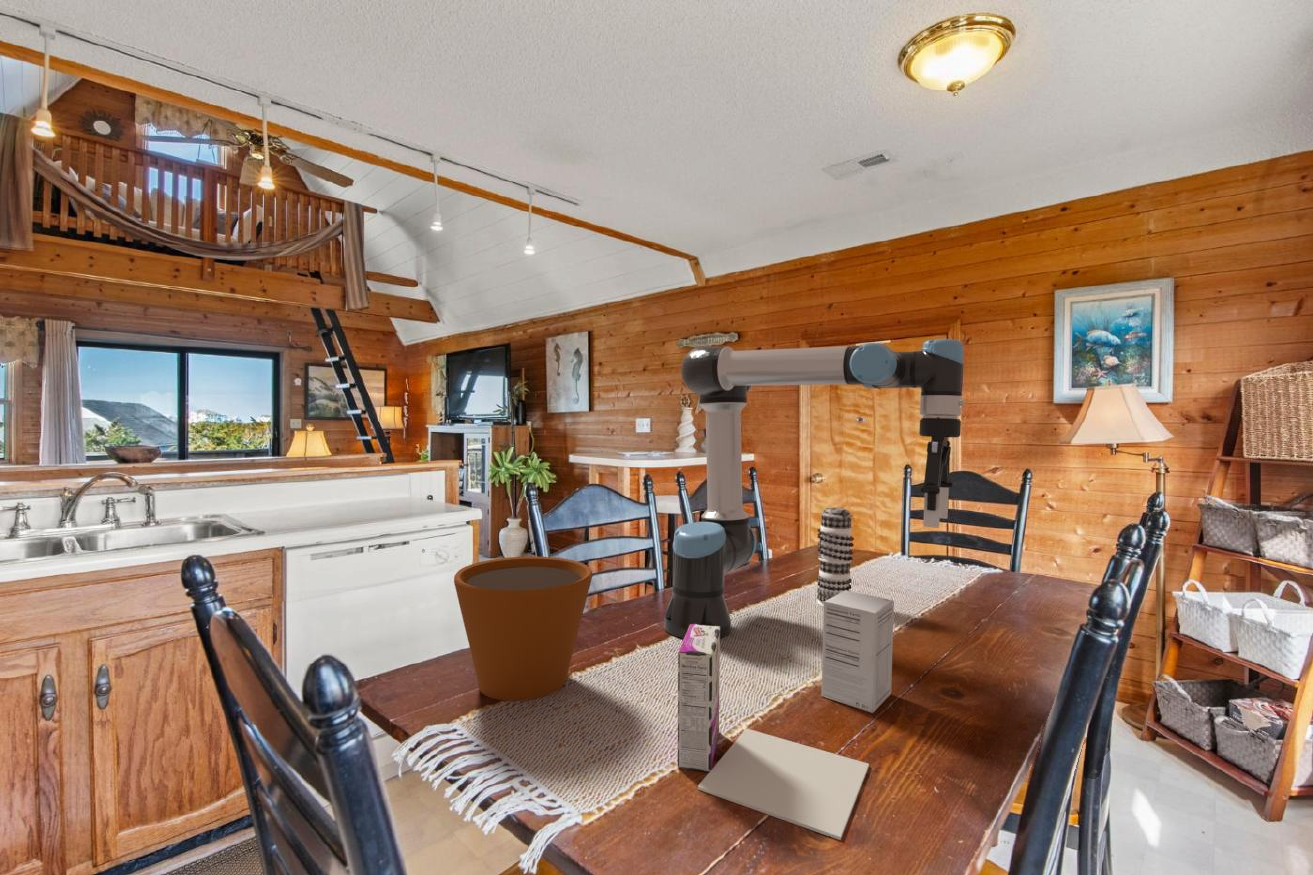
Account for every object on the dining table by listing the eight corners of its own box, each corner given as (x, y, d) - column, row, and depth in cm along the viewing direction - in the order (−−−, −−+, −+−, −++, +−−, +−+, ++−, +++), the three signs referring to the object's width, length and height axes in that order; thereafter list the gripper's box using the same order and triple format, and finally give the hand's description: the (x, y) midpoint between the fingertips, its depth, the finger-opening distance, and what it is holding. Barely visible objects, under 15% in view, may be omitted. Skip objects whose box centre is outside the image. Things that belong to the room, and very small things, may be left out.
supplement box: (841, 679, 111) (844, 588, 111) (892, 694, 105) (895, 599, 105) (819, 696, 104) (822, 600, 103) (873, 714, 98) (876, 612, 97)
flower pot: (573, 650, 122) (575, 553, 122) (606, 702, 100) (608, 583, 100) (450, 665, 114) (451, 560, 113) (456, 726, 92) (457, 596, 91)
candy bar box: (687, 728, 92) (689, 622, 92) (719, 732, 91) (722, 625, 91) (674, 769, 82) (677, 649, 81) (711, 774, 81) (714, 653, 80)
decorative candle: (808, 600, 160) (811, 506, 159) (838, 597, 163) (841, 505, 162) (828, 611, 151) (831, 512, 150) (859, 608, 154) (862, 511, 153)
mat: (697, 789, 77) (697, 786, 77) (746, 730, 92) (746, 728, 92) (840, 840, 68) (840, 837, 68) (868, 766, 83) (868, 763, 83)
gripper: (954, 417, 108) (949, 533, 109) (966, 418, 129) (962, 516, 130) (909, 416, 112) (905, 528, 113) (929, 417, 133) (925, 512, 134)
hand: (935, 522), depth 122 cm, fingers open, 13 cm apart
